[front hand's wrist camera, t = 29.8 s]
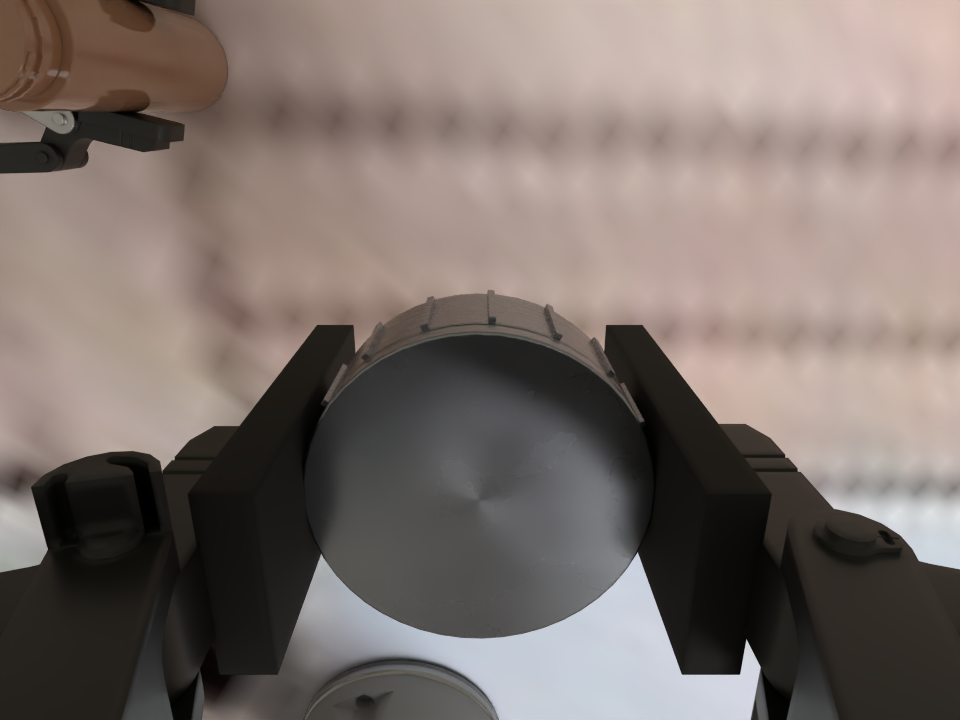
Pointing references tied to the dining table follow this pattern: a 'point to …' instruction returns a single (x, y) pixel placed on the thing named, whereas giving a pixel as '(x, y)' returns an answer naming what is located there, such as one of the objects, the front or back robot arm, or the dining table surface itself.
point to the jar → (106, 58)
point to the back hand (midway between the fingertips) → (180, 69)
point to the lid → (479, 469)
